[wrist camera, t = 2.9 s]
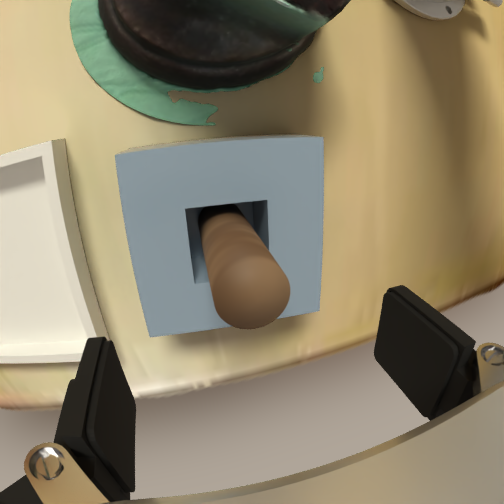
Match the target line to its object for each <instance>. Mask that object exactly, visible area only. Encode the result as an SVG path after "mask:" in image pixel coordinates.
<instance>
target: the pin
mask: <svg viewBox="0 0 504 504" xmlns="http://www.w3.org/2000/svg"><path fill="white" fill-rule="evenodd" d="M198 227H199V232H200V238H201V243H202V248H203V253H204V258H205V263H206V268H207V273H208V278H209V283H210V288H211V292H212V297H213V302H214V306H215V309H216V312H217V313H218V315H219V316H220V318H221V319H222V320H223V321H224V322H226V323H227V324H229V325H231V326H233V327H236V328H240V329H255V328H259V327H262V326H265V325H267V324H269V323H271V322H273V321H274V320H275V319H277V318H278V317H279V316H280V315H281V314H282V312H283V311H284V310H285V308H286V306H287V304H288V302H289V298H290V283H289V280H288V278H287V276H286V274H285V273H284V272H283V270H282V269H281V267H280V266H279V264H278V263H277V262H276V260H275V259H274V257H273V256H272V254H271V253H270V252H269V250H268V249H267V247H266V246H265V245H264V243H263V242H262V240H261V239H260V237H259V236H258V235H257V233H256V232H255V230H254V229H253V228H252V226H251V225H250V223H249V222H248V221H247V219H246V218H245V216H244V215H243V214H242V212H241V211H240V209H239V208H238V207H237V206H236V205H235V204H234V203H231V204H222V205H213V206H205V207H204V208H203V209H202V211H201V213H200V215H199V218H198Z"/></svg>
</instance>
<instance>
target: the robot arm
mask: <svg viewBox="0 0 504 504" xmlns="http://www.w3.org/2000/svg"><path fill="white" fill-rule="evenodd" d="M394 1H396V2H397V3H398V4H400V5H401V6H402V7H404V8H405V9H407V10H409V11H410V12H412V13H414V14H416V15H418V16H421V17H423V18H427V19H430V20H444V19H449V18H452V17H454V16H457V15H458V13H459V12H460V11H461V10H462V8H463V6H464V2H465V0H394ZM484 1H485V2H487V3H489V4H490V5H492V6H494V7H499V6H500V5H501V4H502V0H484ZM475 343H476V341H475V340H473V339H472V338H471V337H470V336H468V335H467V334H466V333H465V332H464V331H462V330H461V329H460V328H459V327H457V326H456V325H455V324H453V323H452V322H451V321H450V320H448V319H447V318H446V317H444V316H443V315H442V314H441V313H439V312H438V311H437V310H436V309H434V308H433V307H432V306H430V305H429V304H428V303H426V302H425V301H424V300H423V299H421V298H420V297H419V296H417V295H416V294H415V293H413V292H412V291H411V290H409V289H408V288H407V287H405V286H403V285H400V286H396V287H392V288H389V289H388V290H387V292H386V293H385V294H384V297H383V303H382V309H381V315H380V321H379V327H378V333H377V338H376V343H375V349H374V356H375V359H376V361H377V362H378V363H379V364H380V365H381V366H382V368H383V369H384V370H385V371H386V372H387V373H388V375H389V376H390V377H391V378H392V379H393V381H394V382H395V383H396V384H397V385H398V387H399V388H400V389H401V390H402V391H403V393H404V394H405V395H406V396H407V397H408V399H409V400H410V401H411V402H412V403H413V404H414V406H415V407H416V408H417V409H418V411H419V412H420V413H421V414H422V415H423V416H424V417H428V419H429V420H430V421H429V422H427V423H425V424H423V425H421V426H419V427H417V428H415V429H413V430H411V431H409V432H407V433H405V434H403V435H400V436H398V437H396V438H394V439H392V440H389V441H387V442H385V443H382V444H380V445H377V446H375V447H373V448H371V449H368V450H365V451H363V452H360V453H357V454H355V455H352V456H349V457H347V458H344V459H341V460H338V461H335V462H332V463H329V464H326V465H323V466H320V467H317V468H313V469H310V470H307V471H303V472H300V473H296V474H293V475H289V476H285V477H282V478H277V479H273V480H269V481H265V482H260V483H256V484H251V485H246V486H241V487H236V488H231V489H225V490H219V491H212V492H206V493H198V494H191V495H183V496H173V497H162V498H149V499H138V500H130V492H134V491H135V419H136V405H135V400H134V397H133V395H132V392H131V390H130V387H129V385H128V382H127V380H126V377H125V375H124V372H123V369H122V367H121V364H120V361H119V358H118V356H117V353H116V350H115V347H114V344H113V342H112V341H111V340H109V341H107V339H106V337H104V336H103V337H93V338H88V339H87V341H86V344H85V348H84V351H83V354H82V357H81V361H80V364H79V367H78V371H77V374H76V378H75V379H72V380H71V381H70V382H69V385H68V388H67V392H66V395H65V399H64V402H63V406H62V410H61V414H60V418H59V422H58V426H57V430H56V435H55V439H54V443H50V442H48V443H43V444H40V445H37V446H35V447H34V448H33V449H32V450H30V452H29V453H28V454H27V456H26V459H25V462H24V470H25V473H26V475H25V476H23V477H22V478H21V479H19V480H18V481H16V482H15V483H13V484H12V485H11V486H9V487H8V488H6V489H5V490H3V491H2V492H0V504H504V347H503V346H501V345H499V344H495V343H484V344H482V345H480V346H479V347H478V349H477V351H475V350H474V349H473V348H474V345H475Z"/></svg>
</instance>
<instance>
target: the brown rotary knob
mask: <svg viewBox="0 0 504 504" xmlns="http://www.w3.org/2000/svg"><path fill="white" fill-rule="evenodd" d="M350 1H351V0H72V3H71V8H70V26H71V32H72V38H73V42H74V45H75V48H76V51H77V53H78V56H79V58H80V60H81V62H82V64H83V65H84V67H85V68H86V70H87V71H88V73H89V74H90V75H91V76H92V78H93V79H94V80H95V81H96V82H97V83H98V84H99V85H100V86H101V87H102V88H103V89H104V90H105V91H107V92H108V93H109V94H110V95H112V96H113V97H114V98H116V99H117V100H119V101H120V102H122V103H124V104H125V105H127V106H129V107H131V108H133V109H135V110H137V111H139V112H141V113H144V114H146V115H149V116H152V117H155V118H158V119H162V120H166V121H170V122H176V123H181V124H190V125H216V124H215V123H214V122H210V123H206V120H207V119H208V117H209V116H210V115H212V114H213V113H215V112H216V111H217V110H218V108H217V107H216V106H214V105H211V104H201V103H197V102H190V101H187V100H185V99H179V100H178V101H177V102H176V103H173V102H172V100H171V98H170V97H169V95H168V91H171V90H177V91H182V90H184V91H191V92H203V93H211V92H220V91H224V92H225V91H237V90H241V89H244V88H248V87H250V86H251V85H253V84H256V83H258V82H259V81H262V80H264V79H268V78H270V77H273V76H275V75H278V74H279V73H282V72H283V71H285V70H286V69H287V68H289V66H290V65H291V64H292V63H293V62H294V60H295V59H296V58H297V57H298V56H299V55H300V54H301V53H303V52H304V51H305V50H306V49H307V48H308V47H309V46H310V44H311V43H312V41H313V38H314V36H315V33H316V31H317V29H319V28H320V27H322V26H323V25H325V24H326V23H327V22H329V21H330V20H332V19H333V18H334V17H335V16H336V15H337V14H339V13H340V12H341V11H342V10H343V9H344V7H345V6H346V5H347V4H348V3H349V2H350ZM323 70H324V67H321V71H320V72H316V73H314V75H313V80H314V82H316V83H320V82H321V81H322V80H323V73H322V72H323Z"/></svg>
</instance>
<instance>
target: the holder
mask: <svg viewBox="0 0 504 504" xmlns="http://www.w3.org/2000/svg"><path fill="white" fill-rule="evenodd" d="M115 160H116V169H117V177H118V184H119V191H120V198H121V204H122V211H123V217H124V223H125V229H126V234H127V240H128V245H129V250H130V255H131V260H132V265H133V270H134V274H135V279H136V283H137V288H138V292H139V296H140V301H141V305H142V309H143V313H144V317H145V321H146V324H147V328H148V332H149V336H150V337H157V336H165V335H174V334H181V333H189V332H197V331H204V330H211V329H218V328H225V327H231V325H229V324H227V323H226V322H224V321H223V320H222V319H221V318H220V316H219V315H218V313H217V312H216V309H215V306H214V302H213V297H212V292H211V288H210V283H209V278H208V273H207V268H206V263H205V258H204V253H203V248H202V243H201V238H200V232H199V227H198V218H199V215H200V213H201V211H202V209H203V208H204V207H205V206H213V205H222V204H231V203H234V204H235V205H236V206H237V207H238V208H239V209H240V211H241V212H242V214H243V215H244V216H245V218H246V219H247V221H248V222H249V223H250V225H251V226H252V228H253V229H254V230H255V232H256V233H257V235H258V236H259V237H260V239H261V240H262V242H263V243H264V245H265V246H266V247H267V249H268V250H269V252H270V253H271V254H272V256H273V257H274V259H275V260H276V262H277V263H278V264H279V266H280V267H281V269H282V270H283V272H284V273H285V274H286V276H287V278H288V280H289V283H290V298H289V302H288V304H287V306H286V308H285V310H284V311H283V312H282V314H281V315H280V316H279V317H278V318H277V319H279V318H285V317H290V316H296V315H301V314H306V313H311V312H316V311H319V308H320V291H321V272H322V248H323V211H324V141H323V137H318V136H310V135H300V134H271V135H250V136H235V137H221V138H210V139H199V140H189V141H180V142H172V143H164V144H156V145H149V146H142V147H135V148H129V149H127V150H125V151H122V152H120V153H118V154H116V155H115Z"/></svg>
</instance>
